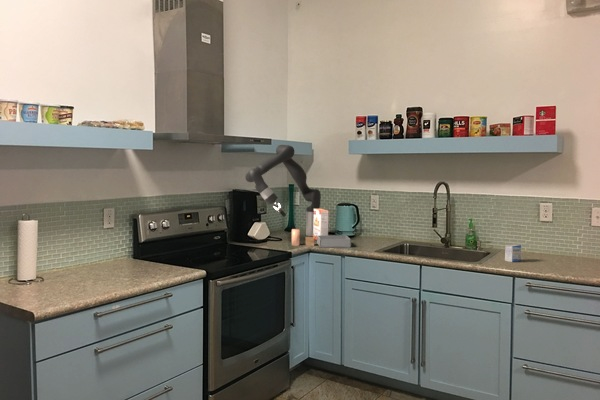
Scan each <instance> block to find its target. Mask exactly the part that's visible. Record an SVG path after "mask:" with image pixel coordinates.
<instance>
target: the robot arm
mask: <svg viewBox="0 0 600 400" xmlns="http://www.w3.org/2000/svg"><path fill="white" fill-rule="evenodd" d="M275 153H276V155H273V156H271V157H269V158H267V159H265V160H263V161H262V162H260V163H259V164H258V165H256V166H255V167H254V168H250V169H249V171H247V173H245V175H244V176H245V180H246V182H248V183H254V184H255V186H254V187H255V189H256V191H257V192H258V193H259V195H260V196H261V197H262V199H263V200H264V201H265V203H266V204H267V205H268V206H270V205H271V204H272V207H273V208H274V209H275V210H276V211H277V212H278V213H280V215H281V216H282V217H283V218H285V217H286V215H287V214H286V212H285V211H284V210H283V208H282V206H281V204H280V203H279V201H277V199H279V198H278V196H277V194H276V193H275V192H274V191H273V190H272V189H271V188H270V187H269V185H267V183H266V182H265V181H264V178H263V175H265V174H267V172H269V171H271V170H272V169H273V168H275V167H276V166H278V165H280V164H283V165H284V167H285V168H286V169H287V171H288V172H289V174H290V176H291V178H292V179H293V180H294V182H295V184H296V185H297V187H298V188H299V190H300V193H301V194H302V196H303V198H304V200H305V201H306V202H308V203H311V204H310V205H309V206H307V207H306V209H305V212H306V213H305V221H306V222H305V223H306V224H305V235H306V237H313V219H314V209H321V199H322V198H321V197H322V196H321V191H320V190H319V189H317V188H310V187H309V186H308V184H307V177H308V176H307V173H306V171H305V170H304V169H303V167H302V166H301V165H300V164H299V163H298V162H296V161H295V160H294V159H293V157H294V155H295V148H294V147H293V146H291V145H289V144H280V145H277V146H276V149H275Z"/></svg>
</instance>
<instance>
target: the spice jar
mask: <svg viewBox="0 0 600 400" xmlns="http://www.w3.org/2000/svg"><path fill="white" fill-rule="evenodd" d="M300 235H301V234H300V228H292V229H291V246H294V247H297V246H298V247H299V246H300Z"/></svg>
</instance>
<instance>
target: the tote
mask: <svg viewBox="0 0 600 400" xmlns="http://www.w3.org/2000/svg"><path fill="white" fill-rule="evenodd" d="M316 243H317V246H318V247H319V248H320V249H324V248H325V249H328V248H329V249H330V248H332V249H334V248H336V249H337V248H338V249H339V248H343V249H345V248H352V239H351V238H350V237H349V236H348V235H344V234H343V235H329V234H328V235H324V236H317V240H316Z"/></svg>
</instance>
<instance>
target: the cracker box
mask: <svg viewBox="0 0 600 400" xmlns="http://www.w3.org/2000/svg"><path fill="white" fill-rule="evenodd" d="M329 213H330V212H329V210H327V209H324V208H319V209H314V219H313V236H312V237H314V241H317V236H324V235H329Z"/></svg>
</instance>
